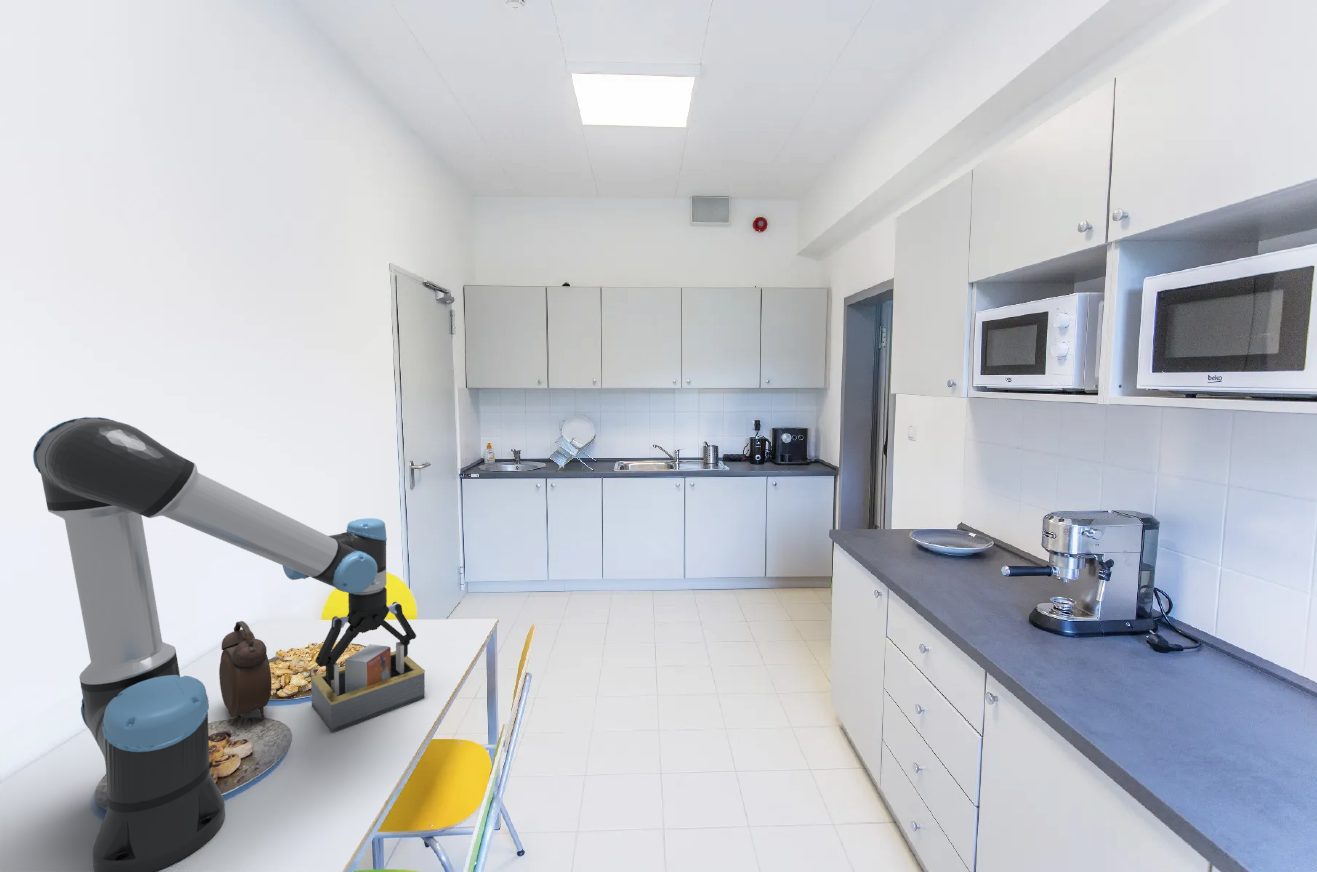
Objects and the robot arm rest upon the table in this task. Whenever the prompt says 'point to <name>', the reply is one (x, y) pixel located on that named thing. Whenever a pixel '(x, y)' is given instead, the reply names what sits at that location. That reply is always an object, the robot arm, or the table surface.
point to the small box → (367, 667)
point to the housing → (366, 696)
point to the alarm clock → (244, 672)
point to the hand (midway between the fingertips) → (368, 681)
